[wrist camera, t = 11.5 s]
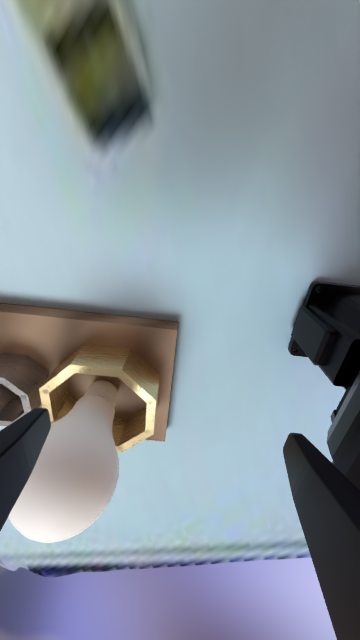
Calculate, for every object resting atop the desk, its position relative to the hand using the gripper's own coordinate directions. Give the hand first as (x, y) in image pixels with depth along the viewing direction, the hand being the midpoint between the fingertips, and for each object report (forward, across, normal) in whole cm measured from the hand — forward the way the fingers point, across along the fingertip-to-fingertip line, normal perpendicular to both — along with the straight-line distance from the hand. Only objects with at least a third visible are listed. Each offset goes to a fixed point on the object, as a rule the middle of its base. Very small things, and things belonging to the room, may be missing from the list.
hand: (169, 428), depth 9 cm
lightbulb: (+11, +6, +8) cm, 15 cm away
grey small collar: (+10, +14, +8) cm, 19 cm away
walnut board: (+12, +9, +8) cm, 17 cm away
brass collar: (+11, +6, +8) cm, 14 cm away
